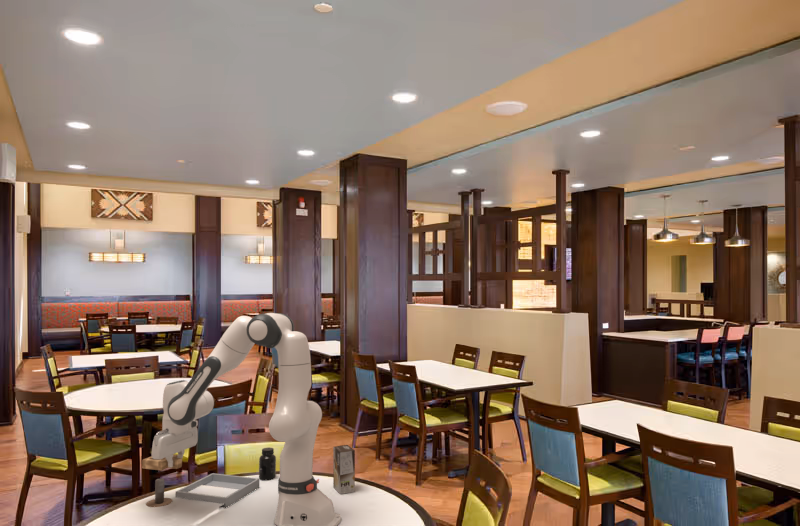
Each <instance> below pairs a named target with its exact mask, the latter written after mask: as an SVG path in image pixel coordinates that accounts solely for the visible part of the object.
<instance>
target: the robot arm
mask: <svg viewBox="0 0 800 526" xmlns="http://www.w3.org/2000/svg"><path fill="white" fill-rule="evenodd" d="M255 344H256V345H257V346H262V347H264V348H265V347H266V348H268V349H275V350H276V352H277V357H278V362H277V363H278V393H277V398H276V403H275V405H274V411H273V414H272V416H271V418H270V420H269V423H268V431H269V434H270V436H271V437H272V438H273V439H274V440H275V441H277V442H279V443H284V445H283V447H282V450H281V452H280V454H279V478H278V483H277V484H278V485H277V492H278V499H277V500H278V501H277V502H278V503H277V509H276V513H275V517H274V520H273V523H274V524H275V525H276V526H338V525H339V524H340V522H341V520H342V517H341V516H342V515H341V514H340V513H336V512H335V507H334V503H333V501H332V499H331V498H329V497H328V496H327V495H326V494H325V493H324V492H323V491H321V489H319V488H318V484H319V483H320V479H319V478H318V479H315V477H314V475H313V464H314V462H313V459H314V458H313V456H314V450H315V449H314V448H315V443H316V438H317V434H318V429H319V425H320V423H321V421H322V418H323V411H322V408H321V406H320V405H319V404H318V403H317V402H316V401H313V400H308V396H309V392H310V390H311V387H312V366H311V365H312V362H311V361H312V360H311V351H310V344H309V341H308V338H307V335H306V334H305V333H303V332H301V331H295V323H294V321H293V319H292V318H291V317H290V316H289V315H287V314H284V313H276V312H267V313H260V314H257V315H255V316H254V317H251V316H248V315H241V316H238V317H237V318H235V320H234V321H232V323H231V324H230V325H229V326H228V328H226V330H225V331H224V333H223V334H222V336H221V337H220V339H219V341H218V342H217V344H216V345H215V346H214V348H213V350H212V351H211V353H210V354H209V355H208V356H207V358H206V359H204V360H205V361H204V362H203V363H202V364H201V366H199V368H198V369H197V370H196V372H195V373H194V374H193V376H192V377H191V379H189V382H188V380H184V379H183V380H176V381H173V382H168V383H167V384H165V387H164V388H163V394H162V395H163V396H162V409H163V415H162V421H161V422H162V425H161V427H162V428H161V429H162V430H159V431H157V432H156V434H155V435H154V437H153V441H152V445H151V446H152V447H151V456H152V458H153V459H163V458H165V457H166V460H167V462H168V467H173V466H175V461H173V459H172V457H173V454H174V455H176V454H177V455H178V456H177V458H182V459H183V457H184V455H185V451H186V450H187V449H191V448H193V447H195V446H196V445H197V443H198V439H199V437H198V428H197V427H198V424H199V421H198V419H201V418H202V417H203V418H204V417H206V416H207V415H210V413H211V412H212V411H213V409H214V407H215V398H214V396H213V395H212V393H211V392H210V391H208V389H209V387H210V386H211V384H212V383H213V382H214V381H216V380H217V379H218V378H219V377H221V376H223V375H224V374H226V373H229V372H230V371H232V370H235V369H236V368H238V367H239V366H240V365H241V364H242V363H243V362H244V360H245V359H246V358H247V356H248V355H249V353H250V351H251V350H252V348H253V347H254V345H255Z"/></svg>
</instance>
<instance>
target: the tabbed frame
mask: <svg viewBox="0 0 800 526" xmlns="http://www.w3.org/2000/svg"><path fill="white" fill-rule="evenodd" d="M177 456H178V454H173V457H172V459H173V461H175V466H173V467H168V462H167V460H166V457H165V458H163V459H153V458H152V455H151V456H149V457H146V458H143V459H142V461H141V469H146V470H153V471H154V470H155V471H164V470H166V469H175V470H177V469H180V468H182V466H183V457H182V458H177Z"/></svg>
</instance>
